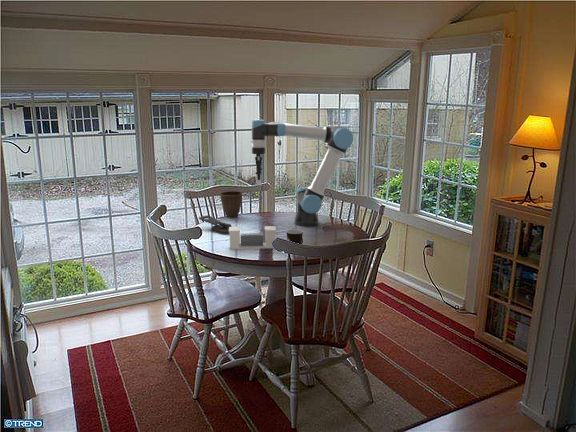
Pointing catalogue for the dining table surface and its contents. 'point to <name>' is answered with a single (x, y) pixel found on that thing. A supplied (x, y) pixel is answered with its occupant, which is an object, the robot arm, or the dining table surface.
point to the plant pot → (231, 203)
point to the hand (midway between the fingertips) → (258, 183)
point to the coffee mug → (295, 236)
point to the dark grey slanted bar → (221, 228)
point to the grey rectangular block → (251, 239)
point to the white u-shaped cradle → (237, 245)
